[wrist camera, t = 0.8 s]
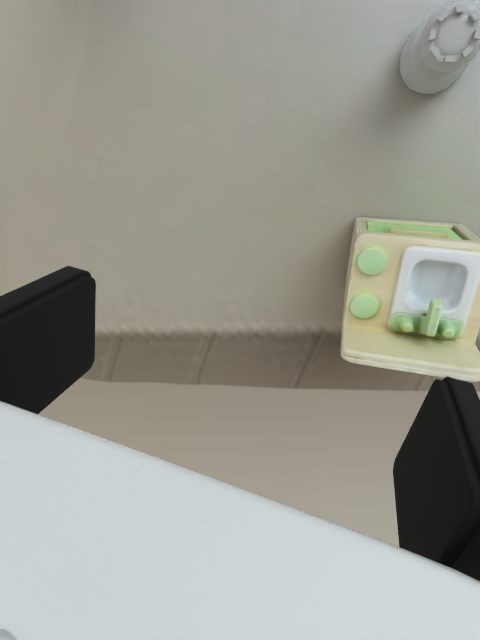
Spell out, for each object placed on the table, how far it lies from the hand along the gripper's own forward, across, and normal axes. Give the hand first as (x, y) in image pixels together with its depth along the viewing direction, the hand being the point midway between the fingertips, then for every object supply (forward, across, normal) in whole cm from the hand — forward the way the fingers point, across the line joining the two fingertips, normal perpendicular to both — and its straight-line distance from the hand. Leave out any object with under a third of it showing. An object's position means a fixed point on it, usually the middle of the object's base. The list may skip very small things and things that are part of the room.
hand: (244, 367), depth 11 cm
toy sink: (+27, -7, +3) cm, 28 cm away
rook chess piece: (+27, -4, -11) cm, 30 cm away
